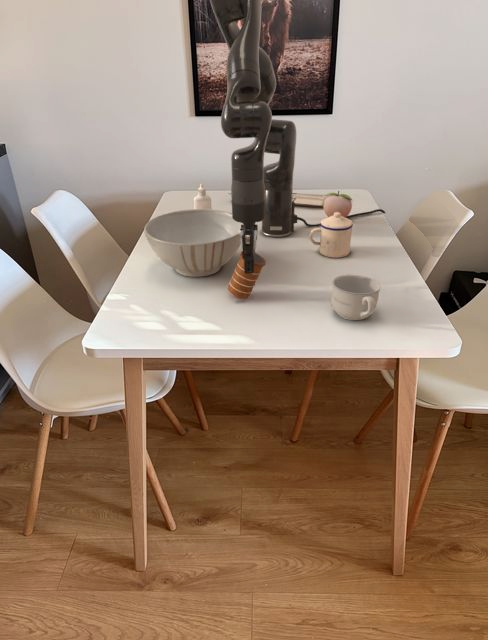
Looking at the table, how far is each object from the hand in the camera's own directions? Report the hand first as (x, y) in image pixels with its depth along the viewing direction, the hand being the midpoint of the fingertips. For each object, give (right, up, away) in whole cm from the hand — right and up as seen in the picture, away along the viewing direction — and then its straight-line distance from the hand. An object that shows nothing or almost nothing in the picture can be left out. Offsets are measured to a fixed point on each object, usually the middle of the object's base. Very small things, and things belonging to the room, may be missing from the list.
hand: (249, 266), depth 134 cm
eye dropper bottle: (-15, +23, +53) cm, 59 cm away
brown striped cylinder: (+2, -3, +2) cm, 4 cm away
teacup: (+24, -13, -5) cm, 28 cm away
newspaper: (+11, +33, +68) cm, 77 cm away
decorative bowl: (-14, +2, +20) cm, 24 cm away
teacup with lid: (+23, +8, +28) cm, 37 cm away
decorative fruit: (+29, +22, +50) cm, 62 cm away
